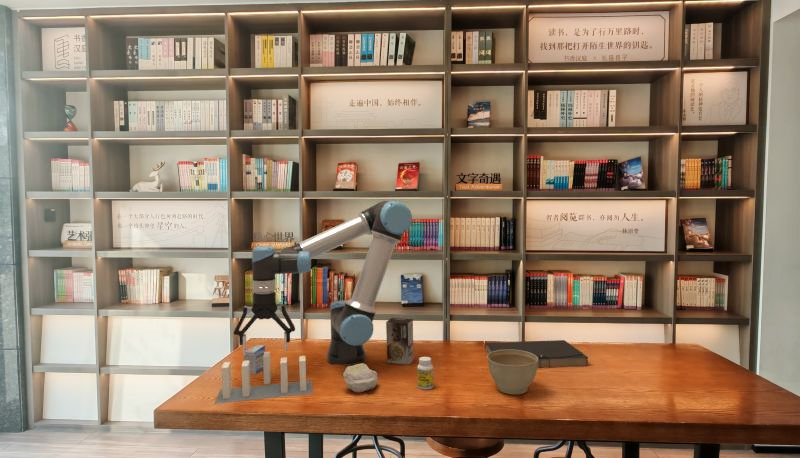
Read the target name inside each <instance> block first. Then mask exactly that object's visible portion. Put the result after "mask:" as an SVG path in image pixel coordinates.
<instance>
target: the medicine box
mask: <svg viewBox="0 0 800 458" xmlns="http://www.w3.org/2000/svg"><path fill="white" fill-rule="evenodd" d="M264 352H266V346H265V345H262V344H261V345H260V344H259V345H258V344H256V345H253V346H251V347H250V348H248V349H246V355H243V356H244V357H243V358H244V359H243V361H247V360H250V375H257V374H258V373H259V372H261V371H264V368H263V355H264Z"/></svg>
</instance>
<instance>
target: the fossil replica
mask: <svg viewBox="0 0 800 458" xmlns="http://www.w3.org/2000/svg"><path fill="white" fill-rule="evenodd" d="M342 375H343V380H344V382H345V384H346V386H347V388H348V389H349V390H351V391H352V392H355V393H363V392H365V391H370V390H373V389H375V387H376V385H378V382H379V381H378V373H377V371H375V370H372V369H370V368H369V366H368V365H367V364H366V363H362V362H360V363H355V364H352V365H348V366H347V367H346V368H345V370H344V372H343V373H342Z"/></svg>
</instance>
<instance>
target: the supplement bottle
mask: <svg viewBox="0 0 800 458" xmlns="http://www.w3.org/2000/svg"><path fill="white" fill-rule="evenodd" d="M418 363H419V364H418V365H417V367H416V368H417V370H416V371H417V373H416V374H417V380H416V381H417V387H418V388H419V389H420V390H431V389H432V388H433V387H434V385H435V384H434V383H435V382H434V365H433V364H432V357H429V356H422V357H419V358H418Z"/></svg>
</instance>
